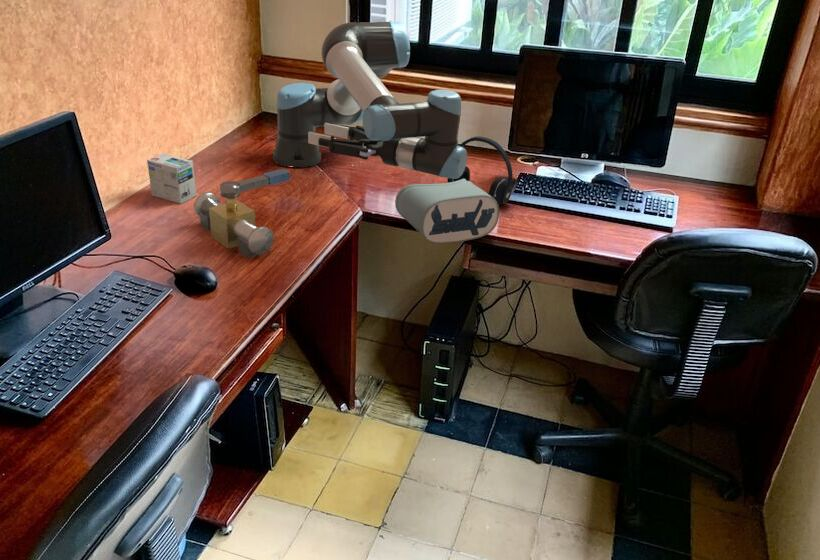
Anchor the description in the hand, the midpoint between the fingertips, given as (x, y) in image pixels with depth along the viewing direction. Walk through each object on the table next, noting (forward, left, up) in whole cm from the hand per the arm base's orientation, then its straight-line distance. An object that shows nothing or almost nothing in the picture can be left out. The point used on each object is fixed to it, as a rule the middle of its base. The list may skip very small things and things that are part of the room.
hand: (317, 132), depth 181 cm
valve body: (-11, -19, -26) cm, 34 cm away
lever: (-10, -12, -14) cm, 21 cm away
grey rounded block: (+25, +23, -26) cm, 43 cm away
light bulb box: (-42, -13, -26) cm, 51 cm away
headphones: (+21, +47, -26) cm, 58 cm away
